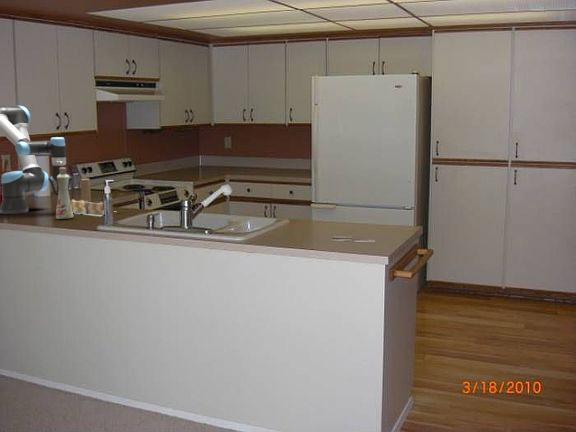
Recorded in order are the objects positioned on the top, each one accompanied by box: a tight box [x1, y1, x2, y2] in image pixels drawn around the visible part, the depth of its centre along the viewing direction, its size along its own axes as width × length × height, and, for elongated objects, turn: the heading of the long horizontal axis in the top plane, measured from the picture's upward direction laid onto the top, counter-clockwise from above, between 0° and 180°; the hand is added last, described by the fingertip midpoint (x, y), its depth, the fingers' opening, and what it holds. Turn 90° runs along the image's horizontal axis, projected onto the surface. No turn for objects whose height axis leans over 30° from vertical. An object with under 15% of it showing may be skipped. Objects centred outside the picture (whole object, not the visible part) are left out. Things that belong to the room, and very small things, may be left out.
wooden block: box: [79, 178, 92, 203], centre depth 410 cm, size 9×4×18 cm, turn 98°
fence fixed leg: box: [85, 201, 105, 215], centre depth 386 cm, size 14×2×8 cm, turn 56°
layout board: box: [73, 210, 116, 218], centre depth 394 cm, size 17×28×1 cm, turn 56°
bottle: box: [55, 167, 74, 220], centre depth 373 cm, size 9×9×28 cm
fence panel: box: [70, 198, 86, 213], centre depth 393 cm, size 12×1×7 cm, turn 56°
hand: (61, 206), depth 392 cm, fingers closed
